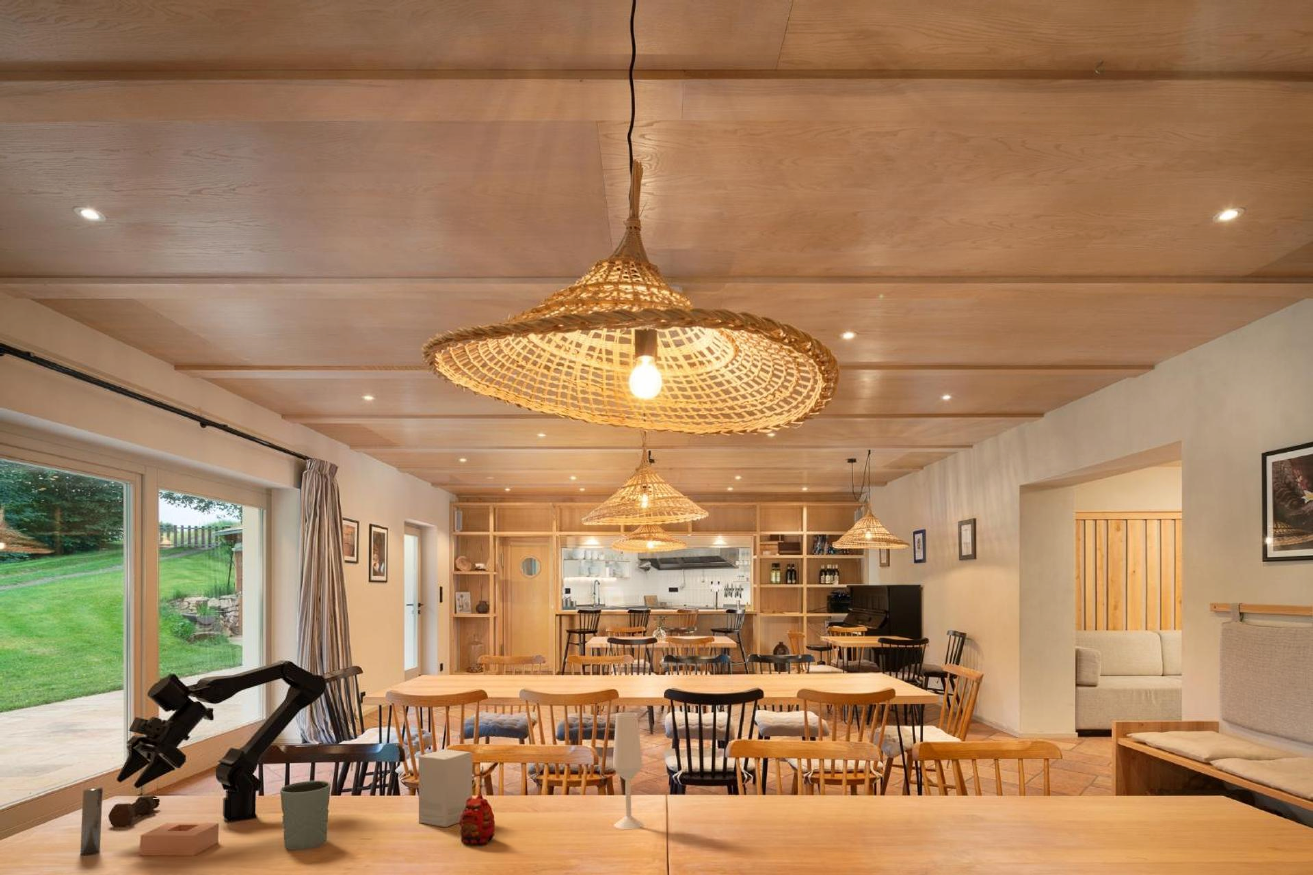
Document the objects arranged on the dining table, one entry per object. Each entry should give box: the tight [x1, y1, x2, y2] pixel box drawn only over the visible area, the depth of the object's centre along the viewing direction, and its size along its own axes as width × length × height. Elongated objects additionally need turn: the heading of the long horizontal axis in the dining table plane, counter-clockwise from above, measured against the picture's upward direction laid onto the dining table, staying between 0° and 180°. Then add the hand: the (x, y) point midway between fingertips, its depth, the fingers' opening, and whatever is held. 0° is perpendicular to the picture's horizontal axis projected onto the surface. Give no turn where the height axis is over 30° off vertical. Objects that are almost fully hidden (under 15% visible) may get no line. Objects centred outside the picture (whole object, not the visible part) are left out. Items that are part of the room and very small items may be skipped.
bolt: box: [107, 795, 161, 828], centre depth 228 cm, size 6×5×15 cm
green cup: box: [279, 780, 332, 851], centre depth 204 cm, size 10×10×12 cm
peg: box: [79, 786, 104, 856], centre depth 202 cm, size 4×4×13 cm
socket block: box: [139, 822, 220, 857], centre depth 203 cm, size 9×12×4 cm
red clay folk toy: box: [459, 765, 496, 846], centre depth 203 cm, size 8×7×15 cm
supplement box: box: [418, 748, 473, 828], centre depth 220 cm, size 9×9×15 cm
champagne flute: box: [612, 712, 645, 830], centre depth 213 cm, size 7×7×24 cm
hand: (126, 783), depth 208 cm, fingers open, 9 cm apart
